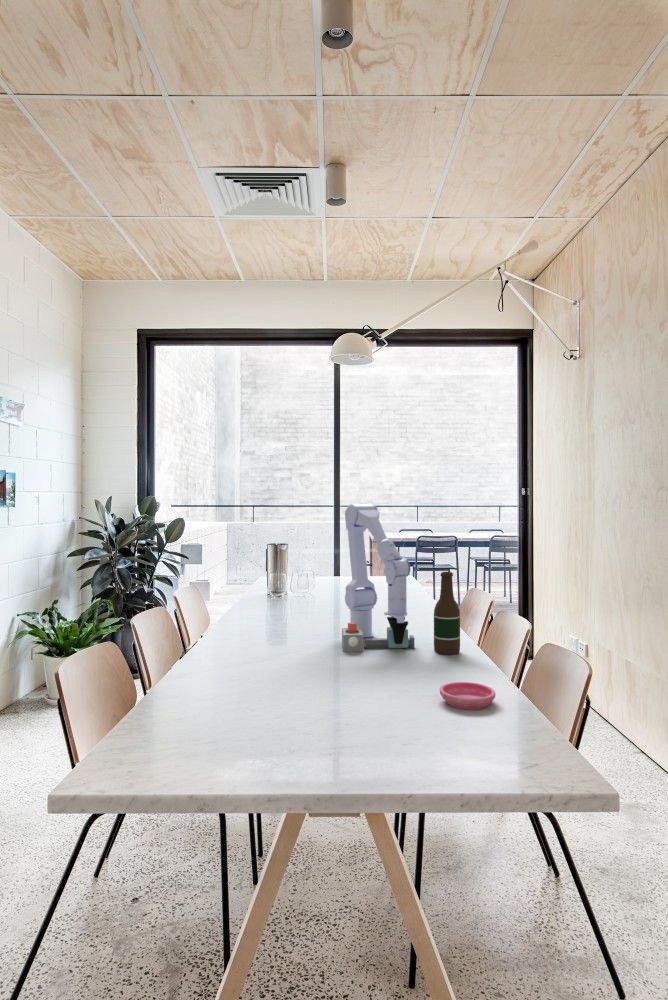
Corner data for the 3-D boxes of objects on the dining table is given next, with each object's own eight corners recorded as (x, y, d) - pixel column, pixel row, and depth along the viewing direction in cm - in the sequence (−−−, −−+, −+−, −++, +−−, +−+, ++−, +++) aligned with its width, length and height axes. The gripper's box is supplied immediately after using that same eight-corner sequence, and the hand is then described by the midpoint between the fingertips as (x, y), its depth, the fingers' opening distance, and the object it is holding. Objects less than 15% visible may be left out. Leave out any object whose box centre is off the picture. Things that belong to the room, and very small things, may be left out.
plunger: (347, 635, 199) (347, 622, 199) (356, 635, 199) (356, 622, 199) (348, 637, 196) (347, 624, 196) (357, 637, 196) (357, 624, 196)
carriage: (386, 644, 200) (386, 627, 200) (406, 644, 200) (405, 627, 200) (388, 647, 196) (388, 630, 196) (408, 647, 196) (408, 630, 196)
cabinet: (341, 643, 202) (341, 628, 202) (360, 643, 203) (360, 627, 203) (343, 651, 192) (343, 635, 192) (363, 651, 192) (363, 635, 192)
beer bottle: (448, 656, 186) (448, 574, 186) (428, 651, 192) (428, 572, 192) (465, 652, 191) (465, 572, 191) (445, 647, 197) (444, 569, 197)
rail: (364, 645, 200) (364, 635, 200) (412, 645, 200) (412, 635, 200) (365, 648, 196) (365, 638, 196) (414, 648, 196) (414, 637, 196)
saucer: (498, 697, 149) (498, 684, 149) (492, 715, 137) (492, 700, 137) (444, 692, 153) (444, 679, 153) (435, 709, 141) (434, 694, 141)
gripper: (381, 594, 205) (381, 636, 205) (387, 602, 190) (387, 647, 191) (403, 594, 205) (403, 636, 205) (410, 601, 191) (410, 647, 191)
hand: (397, 641), depth 198 cm, fingers closed on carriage, 4 cm apart
